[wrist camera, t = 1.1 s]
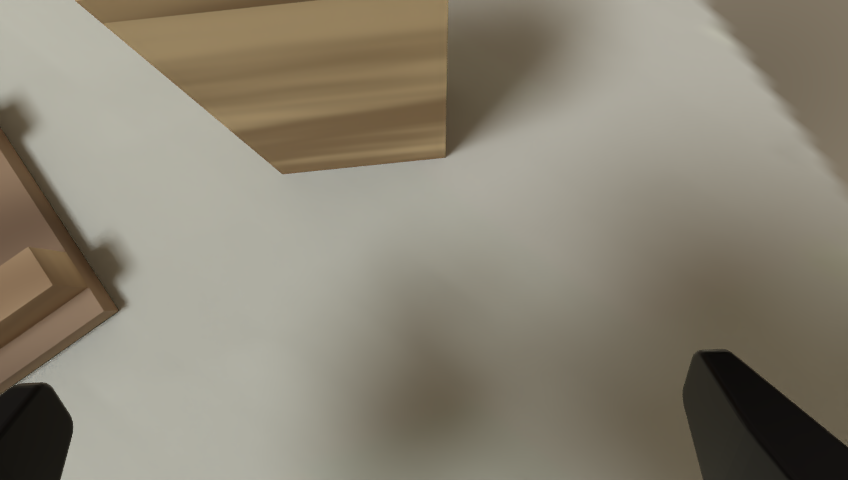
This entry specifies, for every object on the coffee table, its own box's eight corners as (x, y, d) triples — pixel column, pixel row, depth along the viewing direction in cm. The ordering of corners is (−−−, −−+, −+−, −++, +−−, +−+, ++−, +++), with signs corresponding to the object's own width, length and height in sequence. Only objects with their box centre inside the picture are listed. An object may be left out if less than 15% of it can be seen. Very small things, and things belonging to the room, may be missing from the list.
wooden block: (445, 157, 23) (448, -40, 10) (282, 174, 23) (74, 0, 10) (437, 78, 23) (430, -213, 10) (276, 95, 23) (68, -172, 10)
